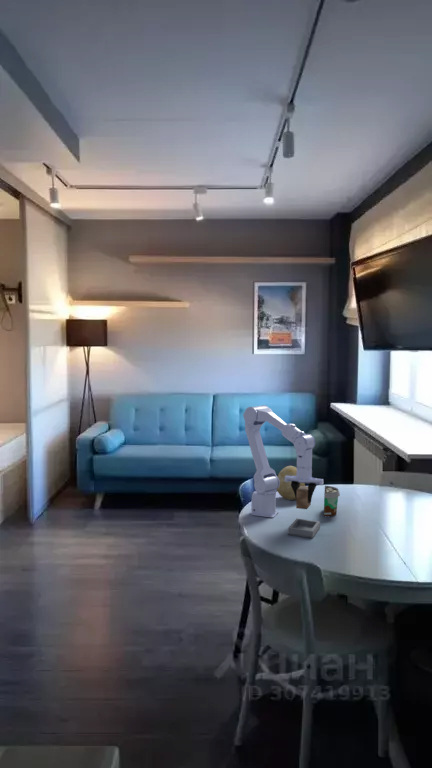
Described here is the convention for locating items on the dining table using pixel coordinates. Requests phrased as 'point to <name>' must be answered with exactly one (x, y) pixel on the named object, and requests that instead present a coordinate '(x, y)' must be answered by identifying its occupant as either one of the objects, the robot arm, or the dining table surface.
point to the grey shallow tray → (304, 528)
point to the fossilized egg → (287, 483)
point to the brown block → (302, 498)
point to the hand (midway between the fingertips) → (303, 501)
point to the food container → (330, 501)
